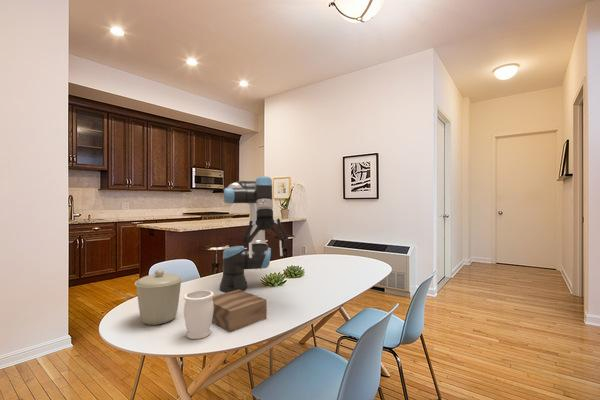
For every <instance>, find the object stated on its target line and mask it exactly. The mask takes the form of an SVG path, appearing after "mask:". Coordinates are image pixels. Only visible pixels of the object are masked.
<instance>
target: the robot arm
mask: <svg viewBox="0 0 600 400" xmlns="http://www.w3.org/2000/svg"><path fill="white" fill-rule="evenodd" d="M272 180H273V179H272V178H271V177H270V176H265V175H263V176H259V177H257V178H256V179H255V180H239V181H235V182H231V183H230V184H228V186H227V187H225V188H223V202H224V203H225V204H248V205H249V223H248V227H247V229H246V231H245V234H244V236H243V238H242V242H244V243H245V244H246V248H245V246H244V245H235V246H229V247H227V248H224V250H223V251H222V277H221V281H220V283H219V290H220V291H221V292H223V293H227V292H231V291H235V290H242V291H245V290H247V289H248V283H247V282H248V281H247V279H246V276H245V270H257V269H259V270H263V269H267V268H269V266H270V262H271V256H272V248H271V247H269V245H268V243H267V242H266V231H270V230H271V231H272V232H273V233H274V234H275V235H276V236H277V237H278V238H279V256H280V257H283V256H284V255H283V254H284V253H283V252H284V251H283V249H284V248H285V247H286V246H285V243H286V242H285V241H287V240H289V236H288V234H287V232H286V231H285V229H284V226H282V222H281V220H280V218H277V219H274V204H273V203H274V201H273V181H272ZM274 224H276V225H278V227H279V229H280V231H281V233H282V234H280V233H279V232H278V231H277V229H276V228H275V227H274ZM282 235H283V236H282Z"/></svg>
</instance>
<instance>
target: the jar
mask: <svg viewBox="0 0 600 400" xmlns="http://www.w3.org/2000/svg"><path fill="white" fill-rule="evenodd" d="M213 296H215V295H214V292H213V291H211V290H194V291H190V292H187V293H185V294H184V295H183V299H184V301H185V302H184V306H183V319H184V324H185V328H186V331H187V333H186V337H187V338H189V339H191V340H199V339H200V340H201V339H204V338H207V337H208V336H210V334H211V332H212V331H211V326H212V324H213V322H212V318H213V311H214V305H213V299H212V297H213Z"/></svg>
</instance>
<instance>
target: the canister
mask: <svg viewBox="0 0 600 400" xmlns="http://www.w3.org/2000/svg"><path fill="white" fill-rule="evenodd" d="M183 279H184V278H183V277H182V276H180V275H179V274H176V273H168V272H166V273H165V271H164V270H163V269H162V268H158V269H156V270H155V271H154V274H149V275H145V276H142V277H141V278H139V279H137V280H135V282H134V286H135V287H136V293H137V294H136V296H137V304H138V311H139V316H140V320H141V321H142V322H143V324H146V325H153V326H155V325H161V324H165V323H168V322H171V321H172V320H174V319H175V317H176V316H177V314H178V308H179V302H180V294H181V293H180V292H181V285H182V283H181V282H182V281H183Z"/></svg>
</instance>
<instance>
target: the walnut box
mask: <svg viewBox="0 0 600 400" xmlns="http://www.w3.org/2000/svg"><path fill="white" fill-rule="evenodd" d="M212 299H213V305H214V311H213V318H212V324H214V325H216V326H218V327H220V328H221V329H223V330H225V331H227V332H228V333H232V332H235V331H236V330H237V331H238V330H240V329H243V328H245V327H247V326H251V325H253V324H255V323H258V322H260V321H264V320H265V319H267V313H268V312H267V308H268V306H267V305H268V304H267V303H268V301H267V299H265V298H263V297H261V296H258V295H255V294H252V293H249V292H247V291H245V290H243V291H242V290H235V291H231V292H223V293H221V294H217V295H213V297H212Z"/></svg>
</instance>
